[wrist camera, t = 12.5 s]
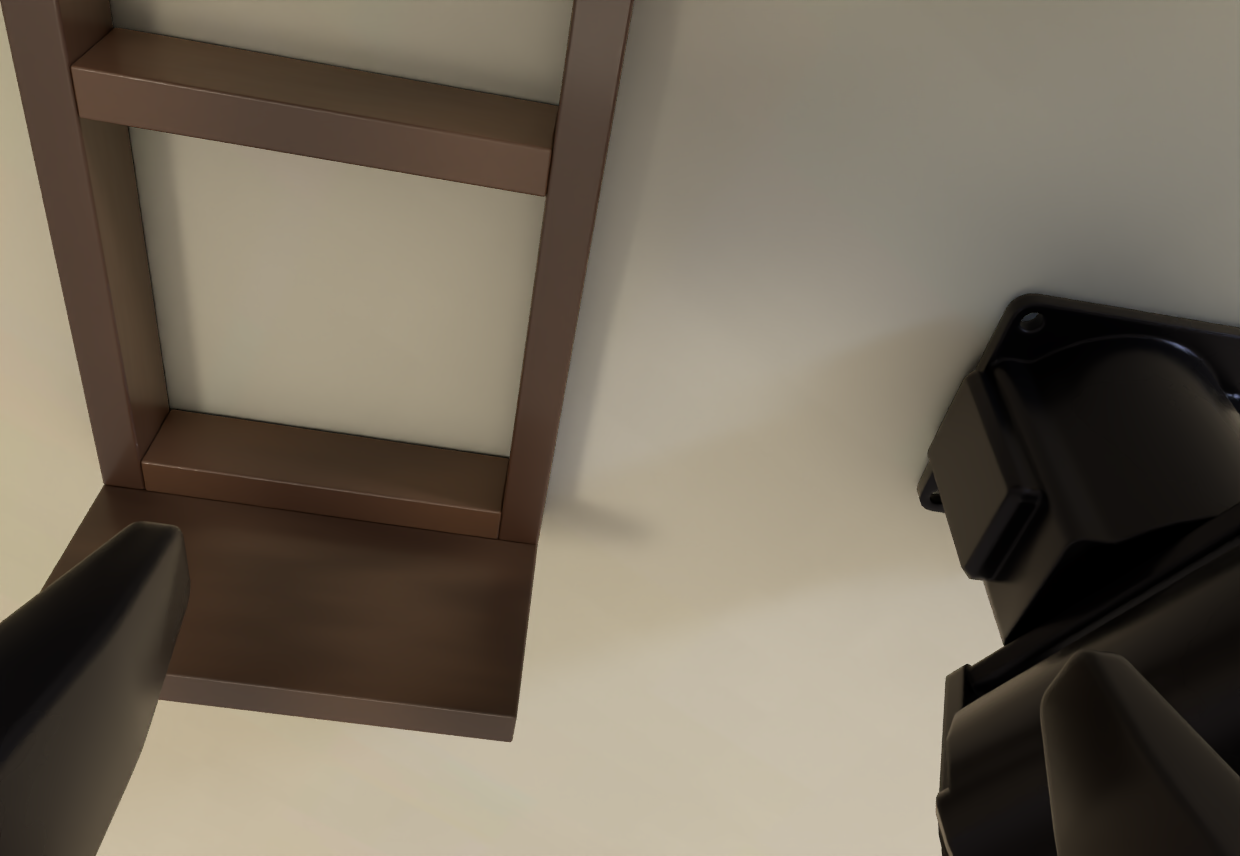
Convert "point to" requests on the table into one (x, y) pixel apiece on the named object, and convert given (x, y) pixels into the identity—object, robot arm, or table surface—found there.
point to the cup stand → (296, 457)
